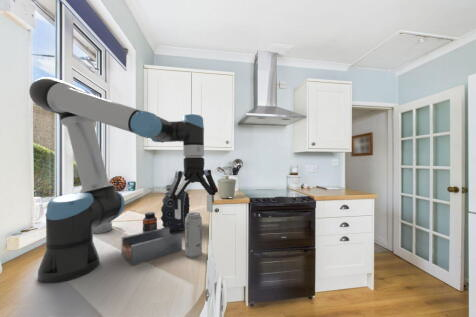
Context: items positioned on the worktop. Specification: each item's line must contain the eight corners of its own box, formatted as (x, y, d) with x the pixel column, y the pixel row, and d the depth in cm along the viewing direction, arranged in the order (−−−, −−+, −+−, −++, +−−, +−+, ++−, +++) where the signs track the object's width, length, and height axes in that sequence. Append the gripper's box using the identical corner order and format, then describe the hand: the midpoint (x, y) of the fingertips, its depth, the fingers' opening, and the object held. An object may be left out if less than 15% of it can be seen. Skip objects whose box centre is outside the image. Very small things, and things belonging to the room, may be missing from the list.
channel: (132, 265, 70) (132, 246, 70) (121, 254, 79) (121, 237, 79) (181, 249, 82) (181, 233, 83) (167, 241, 91) (167, 226, 91)
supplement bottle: (159, 236, 97) (160, 211, 97) (151, 241, 91) (151, 215, 91) (148, 235, 99) (148, 211, 99) (139, 240, 93) (139, 214, 93)
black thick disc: (190, 223, 118) (190, 187, 118) (183, 236, 98) (183, 192, 98) (170, 223, 117) (170, 187, 117) (159, 236, 97) (159, 192, 97)
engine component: (85, 234, 100) (109, 231, 104) (85, 191, 101) (110, 189, 105) (91, 227, 111) (113, 225, 114) (91, 188, 111) (113, 187, 115)
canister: (215, 197, 205) (215, 175, 205) (233, 196, 210) (233, 174, 211) (219, 200, 188) (219, 176, 188) (238, 199, 193) (238, 176, 193)
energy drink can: (200, 258, 75) (200, 215, 75) (183, 258, 75) (183, 216, 75) (202, 251, 81) (202, 211, 81) (187, 251, 81) (187, 212, 81)
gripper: (166, 156, 67) (167, 224, 67) (226, 157, 85) (227, 210, 84) (156, 157, 73) (157, 219, 72) (214, 157, 90) (215, 207, 90)
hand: (194, 214), depth 78 cm, fingers open, 13 cm apart
